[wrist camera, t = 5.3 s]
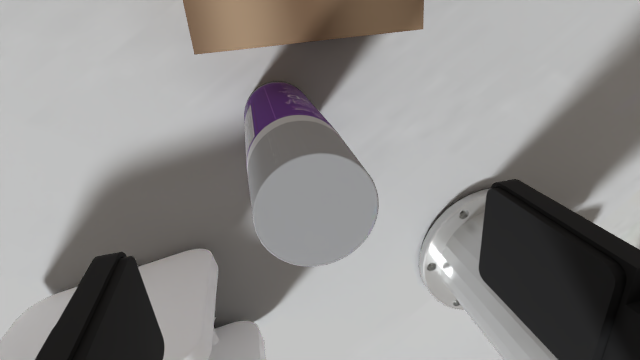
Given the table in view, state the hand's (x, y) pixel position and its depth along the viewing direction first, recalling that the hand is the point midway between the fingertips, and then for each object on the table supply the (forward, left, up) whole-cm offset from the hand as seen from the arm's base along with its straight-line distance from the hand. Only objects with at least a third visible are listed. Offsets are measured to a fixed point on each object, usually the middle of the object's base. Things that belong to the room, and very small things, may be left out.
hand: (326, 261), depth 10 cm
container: (0, 0, -18) cm, 18 cm away
